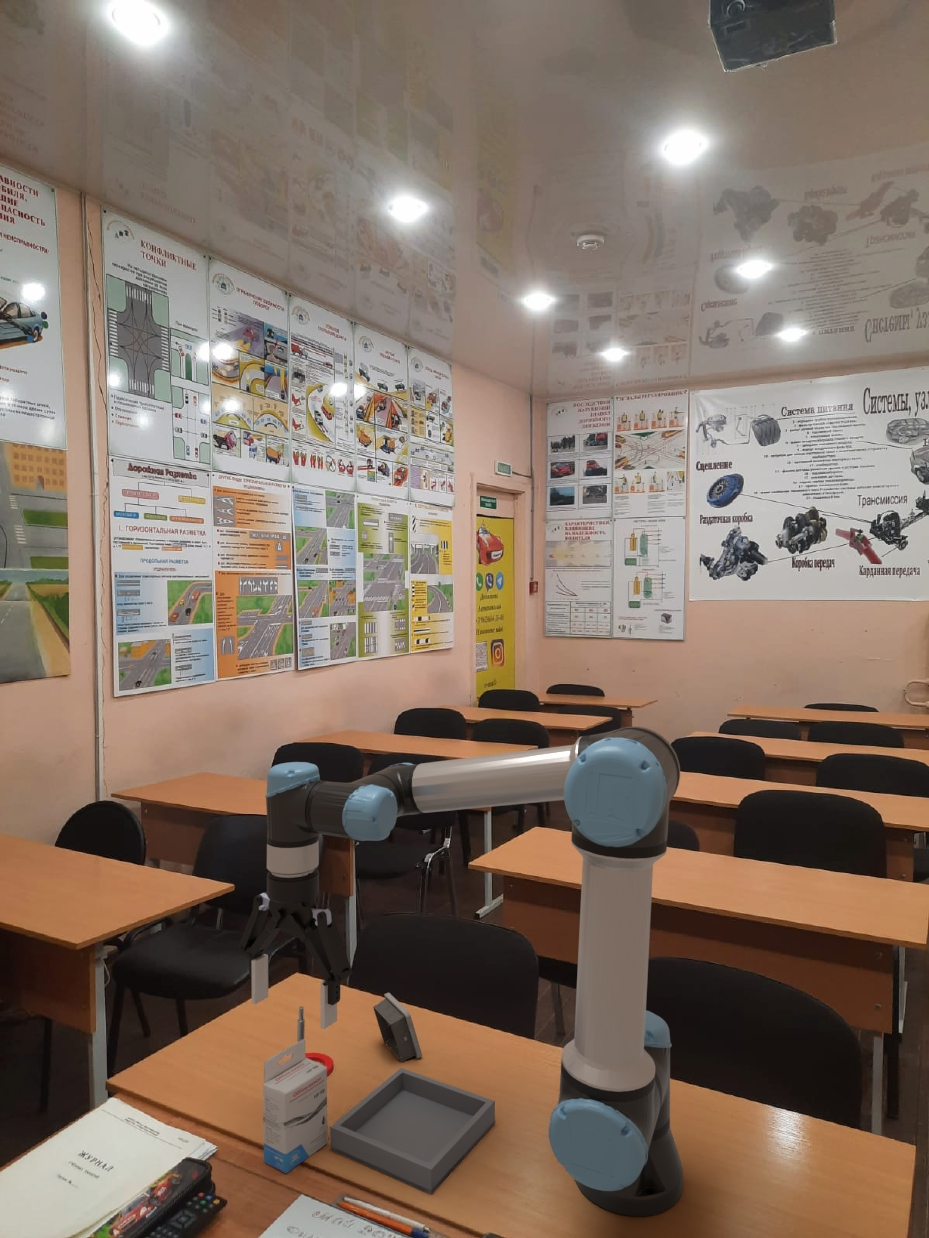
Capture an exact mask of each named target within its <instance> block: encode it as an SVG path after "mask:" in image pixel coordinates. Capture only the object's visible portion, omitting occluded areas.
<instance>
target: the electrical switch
mask: <svg viewBox="0 0 929 1238" xmlns="http://www.w3.org/2000/svg"><path fill="white" fill-rule="evenodd" d="M383 996H384V999H383V1000H380V1002H379V1003H377V1004H375V1005H374V1006H372V1008H373V1011H374V1014H375V1018H376V1021H377V1024H378V1027H379V1031H380V1034H381V1038H382V1041H383V1043H384V1045H386V1044H387V1046H386V1047H387V1048H388V1049H389V1050H390V1051H391V1052H392V1053H393V1054H394V1056H395V1057H396V1058H398V1060H399V1061H400V1062H401V1063H404V1062H405V1061H408V1060H409V1059H411V1058H413V1057H415V1058H416V1059H420V1058H422V1056H423V1053H422V1050H421V1045H420V1043H419V1039H418V1036H417V1031H416V1029H415V1026H414V1023H413V1020H412V1019H413V1018H412V1016H411V1014H410V1012H409V1010H408V1009H406V1008H405V1006H403V1004H401V1003H400V1002H399V1001H398V999H397V998H395V997H394V996H393V994H391V993H390V992H387V993H384V995H383Z"/></svg>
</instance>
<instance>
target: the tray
mask: <svg viewBox="0 0 929 1238" xmlns="http://www.w3.org/2000/svg"><path fill="white" fill-rule="evenodd" d="M495 1124H496V1101H495V1100H493V1099H490V1098H487V1097H484V1096H482V1095H479V1094H476V1093H474V1092H470V1091H468V1090H465V1089H462V1088H460V1087H456V1086H453V1085H451V1084H448V1083H445V1082H443V1081H439V1080H437V1079H434V1078H431V1077H428V1076H425V1075H422V1074H420V1073H417V1072H414V1071H412V1070H409V1069H406V1068H403V1067H400V1068H398V1069H397V1070H396V1071H395V1072H394V1073H393V1074H392V1075H390V1076H389V1077H388V1078H387V1079H386V1080H384V1081H383V1082H382V1083H381V1084H380V1085H379V1086H377V1087H375V1089H373V1090H372V1091H371V1092H370V1093H369V1094H367V1095H366V1096H364V1098H363V1099H361V1100H360V1102H358V1103H357V1104H355V1106H354V1107H352V1108H351V1109H349V1111H347V1112H346V1113H345V1114H344V1115H343V1116H341V1117H340V1118H338V1119H337V1120H336V1122H334V1123H333V1124H332V1125H331V1126H330V1127H329V1135H330V1137H329V1141H330V1142H329V1143H330V1145H329V1146H330V1147H329V1149H330V1151H331V1150H332V1151H331V1152H333V1151H334V1153H336V1154H339V1155H340V1156H343V1157H344V1158H347V1159H348V1160H349V1159H350V1160H351V1161H354V1162H356V1163H358V1164H361V1165H363V1166H365V1167H368V1168H370V1169H371V1170H374V1171H376V1172H379V1173H381V1174H383V1175H386V1176H388V1177H390V1178H392V1179H395V1180H396V1181H399V1182H401V1183H404V1184H406V1185H409V1186H410V1187H412V1188H415V1189H417V1190H420V1191H421V1192H424V1193H426V1194H429V1195H430V1196H431V1195H433V1193H434V1192H435V1191H437V1189H438V1188H440V1186H441V1185H442V1183H444V1182H445V1180H446V1179H447V1178H448V1177H449V1176H450V1174H451V1173H452V1172H453V1171H454V1170H455V1169H456V1168H457V1167H458V1166H459V1165H460V1163H461V1162H462V1161H463V1160H464V1159H465V1157H467V1155H468V1154H469V1153H470V1152H471V1151H472V1149H474V1147H475V1146H476V1145H477V1144H478V1143H479V1142H480V1141H481V1140H482V1138H483V1137H484V1136H485V1135H486V1134H487V1133H488V1132H489V1130H491V1128H492V1127H493V1126H494V1125H495Z"/></svg>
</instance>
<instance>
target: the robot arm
mask: <svg viewBox="0 0 929 1238" xmlns="http://www.w3.org/2000/svg"><path fill="white" fill-rule="evenodd" d="M680 765H681V764H680V761H679V759H678V755H677V753H676V751H675V749H674V747H672V744H671V743H670V742H669V741H668V740H667V739H666V738H665V737H664V736H663V735H661V734H660V733H658V732H656V731H655V730H652V729H649V728H647V727H641V726H627V727H621V728H618V729H614V730H611V731H606V732H601V733H596V734H590V735H589V734H588V735H582V736H579V737H578V739H577V740H576V741H575V743H574V744H569V745H561V746H553V747H552V746H551V747H544V748H536V749H529V750H521V751H512V752H504V753H496V754H489V755H481V756H473V757H464V758H455V759H448V760H439V761H431V762H424V763H419V764H413V763H411V762H401V763H396V764H392V765H389V766H387V767H385V768H384V769H382V770H379V771H377V772H374V773H372V774H370V775H366V776H364V777H362V778H360V779H357V780H353V781H352V782H340V781H339V782H338V781H329V780H324V779H323V780H321V778H320V777H321V776H320V772H319V771H320V770H319V767H318V766H317V765H316V764H314V763H310V762H306V761H304V762H303V761H301V762H300V761H291V762H284V763H279V764H275V765H273V766H272V767H271V768H270V769H269V770H268V771H267V778H266V779H267V781H266V794H265V797H264V798H265V800H266V801H265V805H266V821H267V822H266V826H267V835H266V869H267V870H268V872H267V873H266V891H265V892H262V893H260V894H258V895H256V896H254V897H253V903H252V910H251V913H250V916H249V918H248V921H247V923H246V926H245V928H244V931H243V934H242V935H241V938H240V941H239V943H238V946H237V947H238V951H239V952H240V953H243V952H244V953H245V954H246V957H247V959H248V969H249V970H248V975H249V978H250V979H251V1004H253V1005H257V1004H258V1003H261V1002H262V1001H264V1000H266V999H267V998H269V955H268V954H266V952H267V949H268V947H269V945H271V944H272V942H273V941H274V940H275V937H277V935H278V934H279V933H283V934H290V935H291V936H294V937H298V939H299V941H300V942H301V943H303V944H304V945H305V946H306V948H307V950H308V952H309V954H310V956H312V959H313V961H314V963H315V964H316V966H317V969H318V970H319V972H320V973H321V975H322V977H323V979H324V980H323V981H321V982H320V1029H323V1030H326V1029H327V1028H329V1027H330V1026H332V1025H333V1024H334V1023H336V1022H337V1021H338V1003H339V1002H340V1001H341V982H343V981H345V980H347V978H350V977H351V976H352V975H353V969H352V965H351V964H350V961H349V958H348V956H347V952H346V949H345V948H344V943H343V941H342V938H341V935H340V933H339V930H338V927H337V925H336V916H335V915H336V914H335V910H334V908H333V907H330V906H329V907H327V908H326V909H321V908H318V905H317V901H316V900H317V897H318V896H319V892H320V871H319V869H318V866H319V864H320V863H319V861H320V859H319V853H320V852H319V850H320V849H319V848H320V847H319V843H320V841H319V839H320V838H319V835H326V836H332V837H339V838H345V839H350V840H351V839H353V840H355V841H361V842H365V841H370V842H371V841H373V842H375V841H376V842H377V841H378V842H379V841H383V840H385V839H387V838H388V837H389V836H390V833H391V831H392V830H393V829H394V828H395V825H396V823H397V818H398V817H402V816H410V815H419V814H421V815H422V814H426V813H427V814H428V813H436V812H437V813H438V812H448V811H458V810H459V811H460V810H467V809H468V810H470V809H480V808H490V807H500V806H501V807H502V806H512V805H513V806H514V805H523V804H534V803H544V802H546V803H547V802H554V801H555V802H556V801H564V804H565V805H564V806H565V810H566V812H567V815H568V817H569V819H570V821H571V839H570V841H571V845H572V846H573V847H574V849H576V851H578V853H579V854H580V855H581V856H582V869H581V870H582V871H581V889H580V890H581V891H580V893H581V894H580V909H579V910H580V912H579V914H580V915H579V931H578V932H579V935H578V950H577V951H578V952H577V953H578V955H577V958H578V959H577V976H576V977H577V978H576V997H575V998H576V999H575V1015H574V1016H575V1019H574V1020H575V1022H574V1038H573V1039H572V1040H571V1041H569V1042H568V1043H566V1044H565V1045H564V1047H563V1048H562V1052H561V1057H560V1059H561V1061H560V1076H559V1077H560V1078H559V1095H558V1101H557V1105H556V1106H555V1107H554V1108H553V1110H552V1111H551V1115H550V1118H549V1126H548V1140H549V1145H550V1148H551V1151H552V1153H553V1156H554V1158H555V1159H556V1161H557V1163H558V1164H560V1165H561V1166H562V1167H563V1168H564V1169H565V1171H566V1173H567V1174H568V1175H569V1176H570V1177H571V1178H572V1179H574V1181H575V1183H576V1185H577V1187H578V1189H579V1190H580V1192H581V1193H582V1194H583V1195H584V1196H585V1197H586V1198H587V1199H589V1200H590V1201H591V1202H592V1203H594V1204H595V1205H596V1206H598V1207H600V1208H603V1209H605V1210H607V1211H608V1212H612V1213H615V1214H617V1215H622V1216H630V1217H647V1216H654V1215H658V1214H660V1213H664V1212H665V1211H667V1210H669V1209H671V1208H672V1207H673V1206H674V1205H675V1204H677V1202H679V1199H680V1198H681V1197H682V1195H683V1192H684V1191H683V1190H684V1170H683V1164H682V1163H683V1162H682V1160H681V1156H680V1153H679V1150H678V1148H677V1145H676V1142H675V1138H674V1136H673V1133H672V1130H671V1117H670V1116H671V1048H672V1046H673V1045H672V1043H671V1036H670V1035H671V1034H670V1028H669V1026H668V1024H667V1022H666V1020H664V1018H662V1017H661V1016H659V1015H657V1014H655V1013H653V1012H652V1011H650V1010H647V994H648V993H647V992H648V974H649V973H648V972H649V955H650V954H649V951H650V933H651V914H652V913H651V912H652V894H653V893H652V891H653V875H654V874H653V871H654V864H656V863H657V862H658V860H660V859H661V858H663V857H664V856H665V855H666V854H667V850H668V846H667V845H668V833H669V816H670V815H669V813H670V802H671V801H672V799H673V798H674V796H675V794H676V792H677V791H678V788H679V785H680V778H681V766H680ZM269 911H270V913H271V915H272V917H270V919H269V920H268V922H267V923H266V924H265V922H266V919H267V917H268V915H269ZM264 924H265V928H264V929H263V926H264ZM310 928H311V930H310ZM309 930H310V931H309Z"/></svg>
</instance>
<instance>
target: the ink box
mask: <svg viewBox="0 0 929 1238" xmlns="http://www.w3.org/2000/svg"><path fill="white" fill-rule="evenodd" d="M305 1053H306V1039H305V1038H304V1039H302V1040H301V1041H299V1042H297V1041H296V1043H293V1044H292V1045H290V1046H288V1047H286V1048H285V1049H283V1050H282V1051H280V1052H277V1054H275V1055H273V1056H271V1057H269V1058H268V1059H266V1060H265V1061H264V1063H263V1084H262V1092H263V1094H262V1095H263V1096H262V1097H263V1100H262V1102H263V1103H262V1105H263V1106H262V1107H263V1111H262V1112H263V1115H262V1116H263V1125H262V1126H263V1163H266V1164H267V1165H269V1166H271V1167H272V1168H275V1169H277V1170H278V1171H279V1172H282V1173H284V1174H288V1173H289V1172H291V1171H292V1170H294V1169H295V1168H296V1167H297V1166H299V1165H300V1164H301V1163H304V1161H305V1160H307V1159H308V1158H309V1157H311V1156H312V1155H313V1154H315V1153H316V1152H317V1151H319V1150H320V1149H322V1148H323V1147H324V1146H326V1144H328V1075H327V1067H326V1066H324V1064H323V1063H320V1062H318V1061H312V1060H310V1059H308V1058H305ZM290 1055H291V1057H290V1058H288V1059H286V1060H285V1061H282V1060H283V1059H284V1058H285V1056H290ZM280 1061H282V1063H280Z"/></svg>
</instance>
